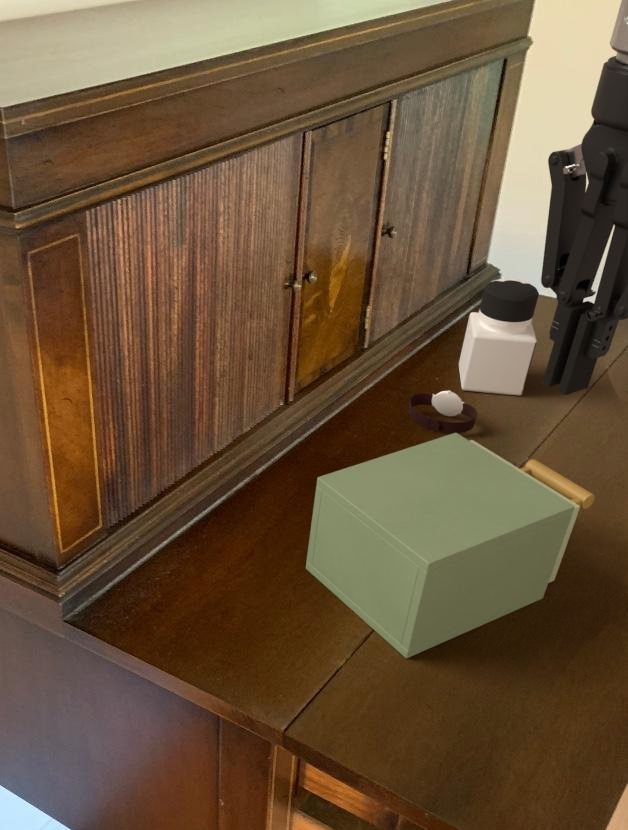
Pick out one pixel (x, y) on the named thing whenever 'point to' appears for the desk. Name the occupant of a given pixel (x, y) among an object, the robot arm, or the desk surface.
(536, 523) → the cabinet
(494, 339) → the medicine bottle
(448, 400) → the watch
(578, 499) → the drawer
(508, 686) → the desk surface
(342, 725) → the desk surface
